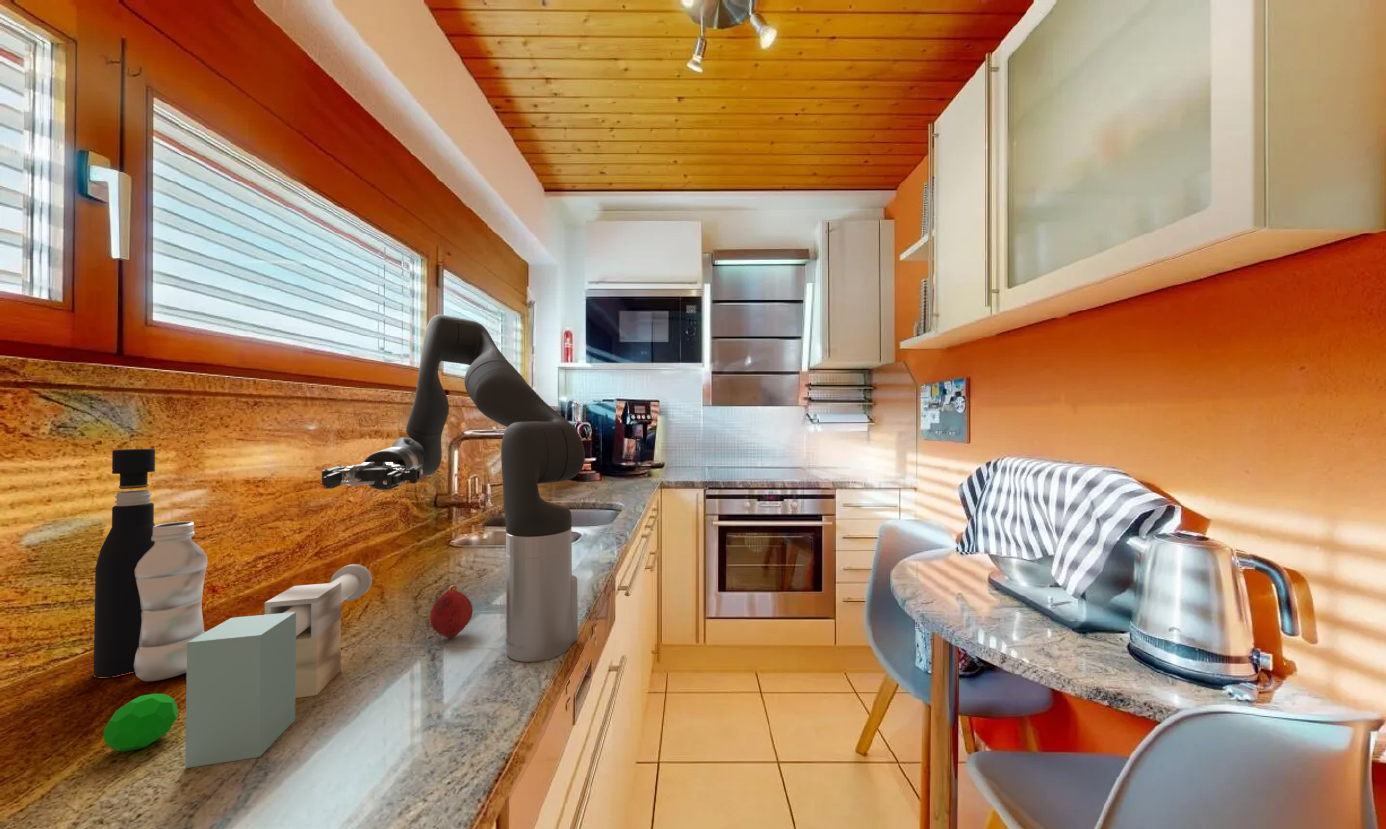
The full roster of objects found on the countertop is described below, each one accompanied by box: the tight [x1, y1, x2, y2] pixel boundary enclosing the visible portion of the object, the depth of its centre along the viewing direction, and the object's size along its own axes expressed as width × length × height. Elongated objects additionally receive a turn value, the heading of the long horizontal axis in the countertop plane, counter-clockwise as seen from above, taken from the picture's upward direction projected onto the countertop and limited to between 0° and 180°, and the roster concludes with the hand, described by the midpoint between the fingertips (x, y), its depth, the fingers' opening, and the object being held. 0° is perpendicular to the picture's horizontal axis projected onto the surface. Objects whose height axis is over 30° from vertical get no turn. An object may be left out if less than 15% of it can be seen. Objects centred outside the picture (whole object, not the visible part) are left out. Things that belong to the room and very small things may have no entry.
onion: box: [429, 584, 474, 639], centre depth 72 cm, size 6×6×8 cm
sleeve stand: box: [264, 582, 342, 699], centre depth 59 cm, size 6×5×12 cm
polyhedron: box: [103, 693, 179, 752], centre depth 48 cm, size 5×5×5 cm
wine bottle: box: [93, 448, 156, 677], centre depth 65 cm, size 6×6×30 cm
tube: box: [284, 563, 373, 636], centre depth 63 cm, size 18×5×5 cm, turn 14°
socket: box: [184, 612, 296, 769], centre depth 49 cm, size 6×6×12 cm
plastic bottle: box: [133, 521, 209, 682], centre depth 62 cm, size 6×7×20 cm
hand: (359, 481), depth 76 cm, fingers open, 8 cm apart
